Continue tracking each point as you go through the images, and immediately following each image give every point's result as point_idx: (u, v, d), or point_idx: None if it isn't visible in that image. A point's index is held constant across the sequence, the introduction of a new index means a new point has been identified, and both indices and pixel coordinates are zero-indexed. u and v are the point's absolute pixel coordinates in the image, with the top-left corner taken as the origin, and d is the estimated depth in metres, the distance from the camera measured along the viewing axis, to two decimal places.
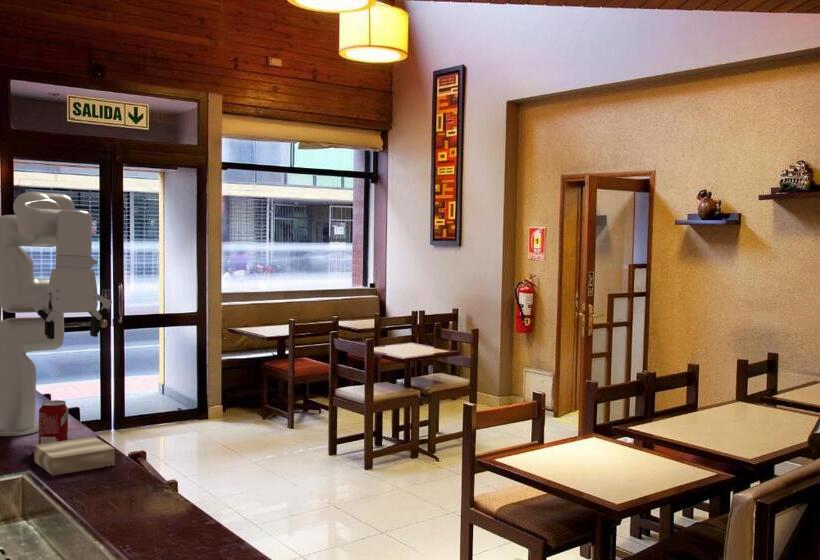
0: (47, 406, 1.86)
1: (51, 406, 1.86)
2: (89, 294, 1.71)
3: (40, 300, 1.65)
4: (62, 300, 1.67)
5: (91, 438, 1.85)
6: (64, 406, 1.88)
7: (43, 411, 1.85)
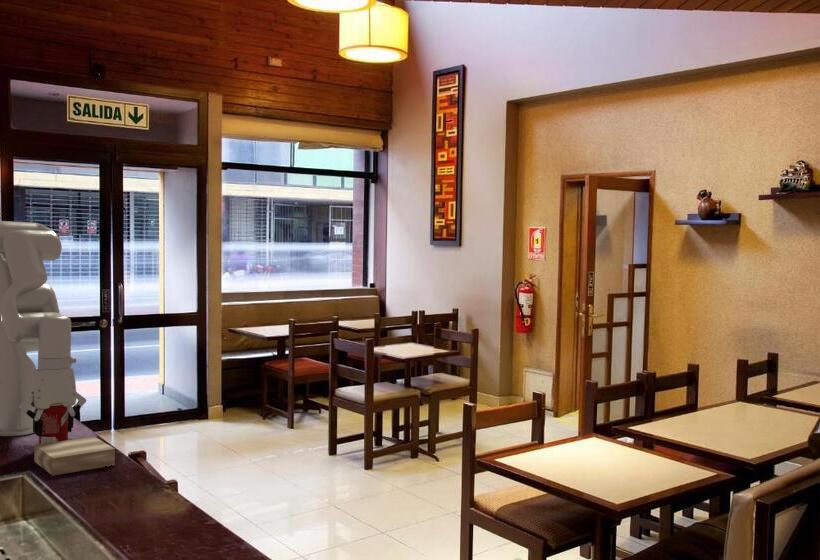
0: None
1: (51, 406, 1.86)
2: (69, 391, 1.89)
3: (26, 403, 1.84)
4: (43, 398, 1.85)
5: (91, 438, 1.85)
6: (64, 406, 1.89)
7: (44, 411, 1.86)
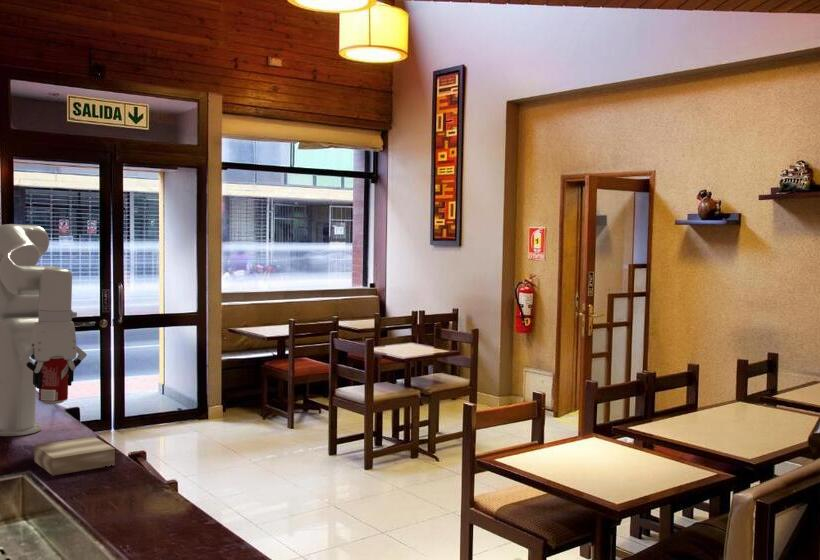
0: None
1: (52, 359, 1.86)
2: (69, 344, 1.89)
3: (26, 354, 1.83)
4: (44, 351, 1.85)
5: (91, 438, 1.85)
6: (64, 359, 1.88)
7: (44, 363, 1.85)
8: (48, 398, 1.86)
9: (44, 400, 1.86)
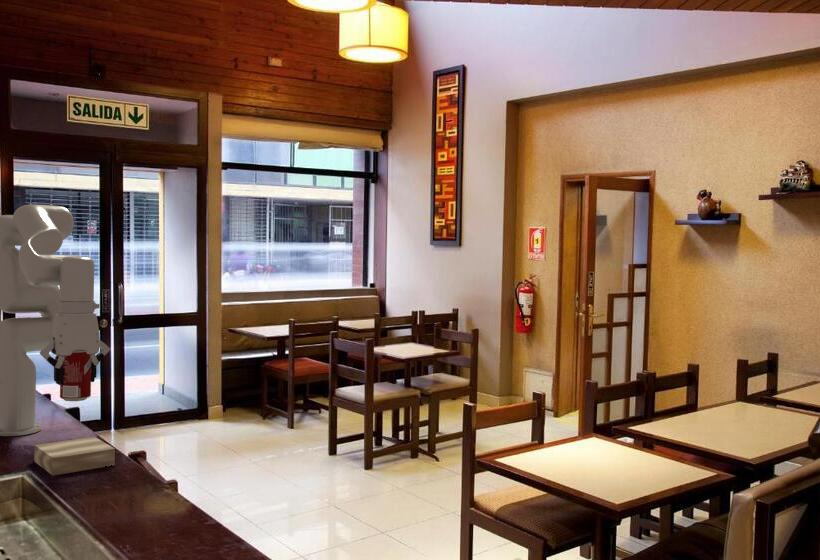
0: None
1: (74, 353, 1.74)
2: (92, 337, 1.77)
3: (46, 348, 1.71)
4: (65, 344, 1.73)
5: (91, 438, 1.85)
6: None
7: (66, 358, 1.73)
8: (70, 395, 1.73)
9: (66, 397, 1.74)
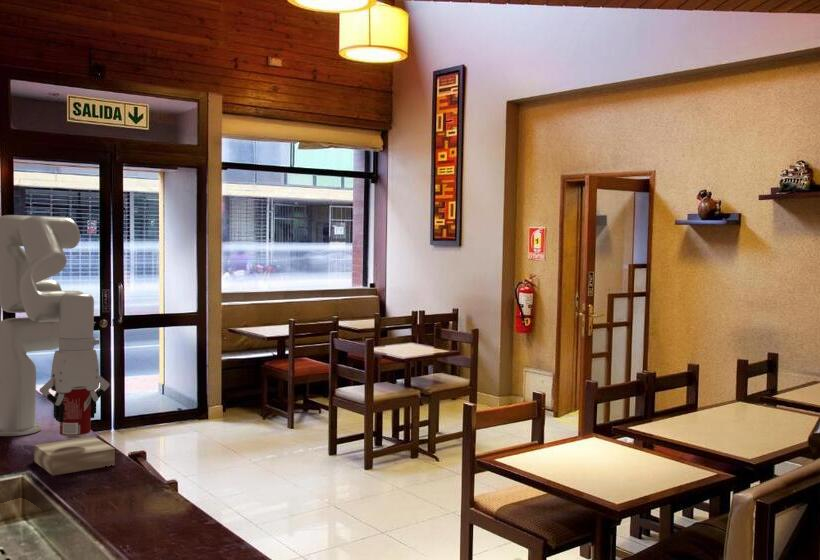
0: None
1: (73, 390, 1.74)
2: (91, 374, 1.77)
3: (46, 386, 1.72)
4: (65, 382, 1.73)
5: (91, 438, 1.85)
6: (87, 390, 1.77)
7: (65, 395, 1.74)
8: (70, 432, 1.74)
9: (66, 434, 1.74)
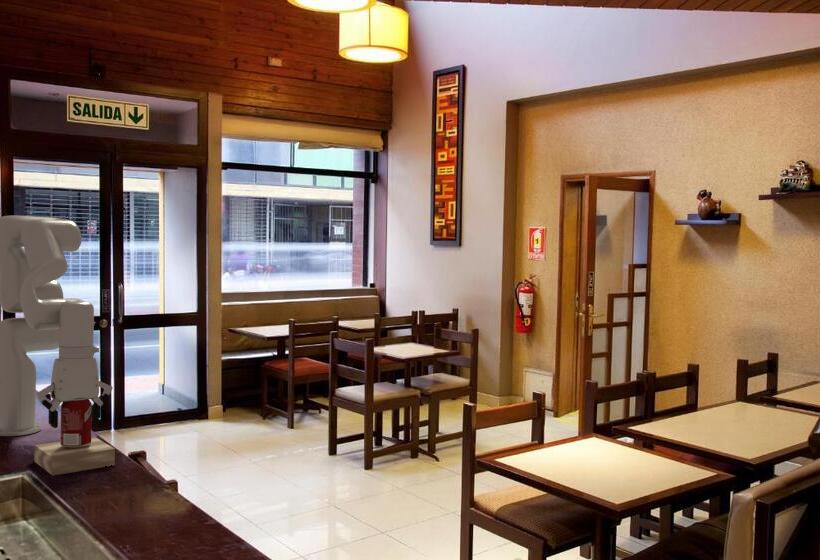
0: (70, 401, 1.74)
1: (74, 401, 1.74)
2: (91, 382, 1.77)
3: (44, 391, 1.71)
4: (65, 390, 1.73)
5: (91, 438, 1.85)
6: (88, 401, 1.77)
7: (66, 406, 1.74)
8: (71, 443, 1.74)
9: (67, 445, 1.74)
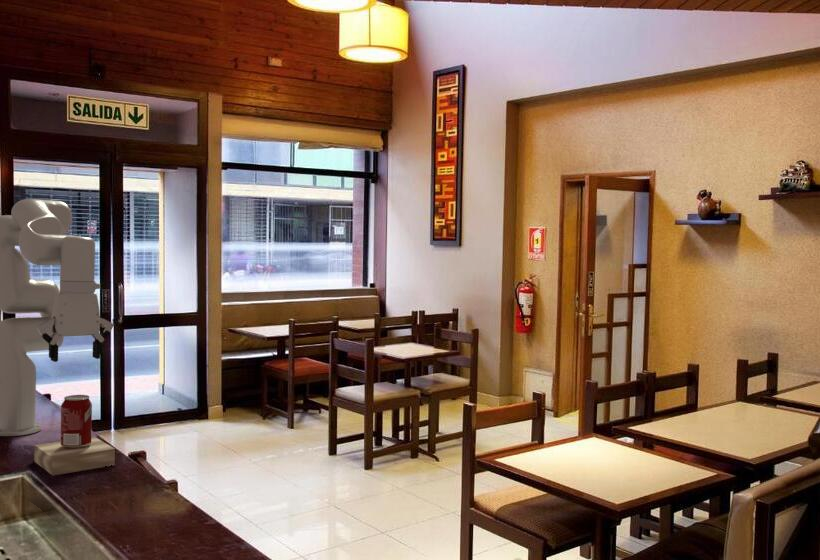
0: (70, 401, 1.74)
1: (74, 401, 1.75)
2: (92, 317, 1.76)
3: (44, 324, 1.71)
4: (66, 324, 1.72)
5: (91, 438, 1.85)
6: (88, 401, 1.77)
7: (66, 406, 1.74)
8: (71, 443, 1.74)
9: (67, 445, 1.74)
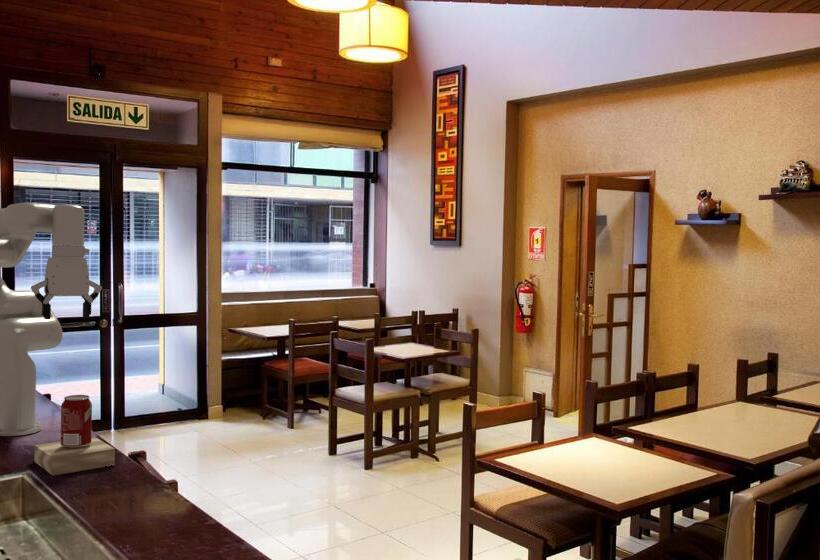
0: (70, 401, 1.74)
1: (74, 401, 1.75)
2: (82, 279, 1.92)
3: (38, 285, 1.86)
4: (57, 285, 1.88)
5: (91, 438, 1.85)
6: (88, 401, 1.77)
7: (66, 406, 1.74)
8: (71, 443, 1.74)
9: (67, 445, 1.74)
